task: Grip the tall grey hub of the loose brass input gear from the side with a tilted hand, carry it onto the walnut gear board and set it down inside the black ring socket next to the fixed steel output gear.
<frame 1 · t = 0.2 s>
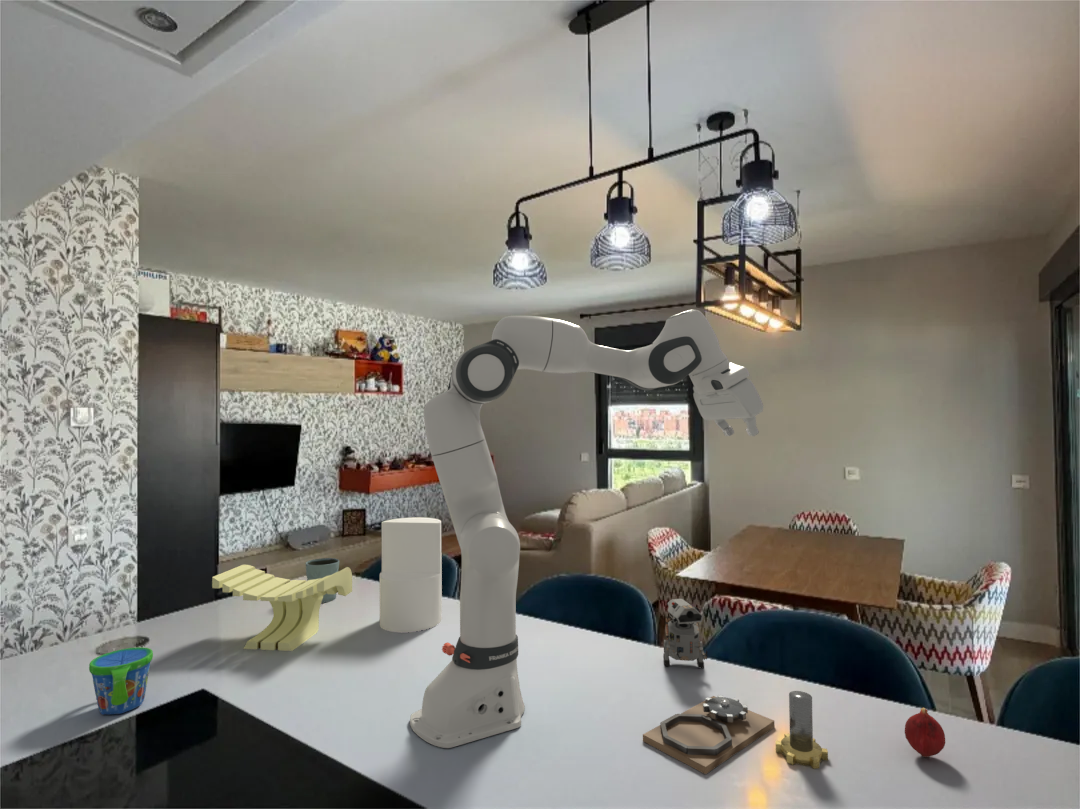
hand: (741, 434, 130), 54 cm above the counter, tool tilted 25°, fingers open, 8 cm apart
cylinder: (411, 622, 169), on the counter
snack cup: (121, 708, 120), on the counter
onion: (925, 758, 100), on the counter
slatted curved stool: (285, 638, 157), on the counter
input gear: (801, 754, 101), on the counter
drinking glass: (322, 599, 191), on the counter
output gear: (725, 724, 111), resting on gear board
gear board: (710, 734, 108), on the counter
figurine: (684, 669, 136), on the counter
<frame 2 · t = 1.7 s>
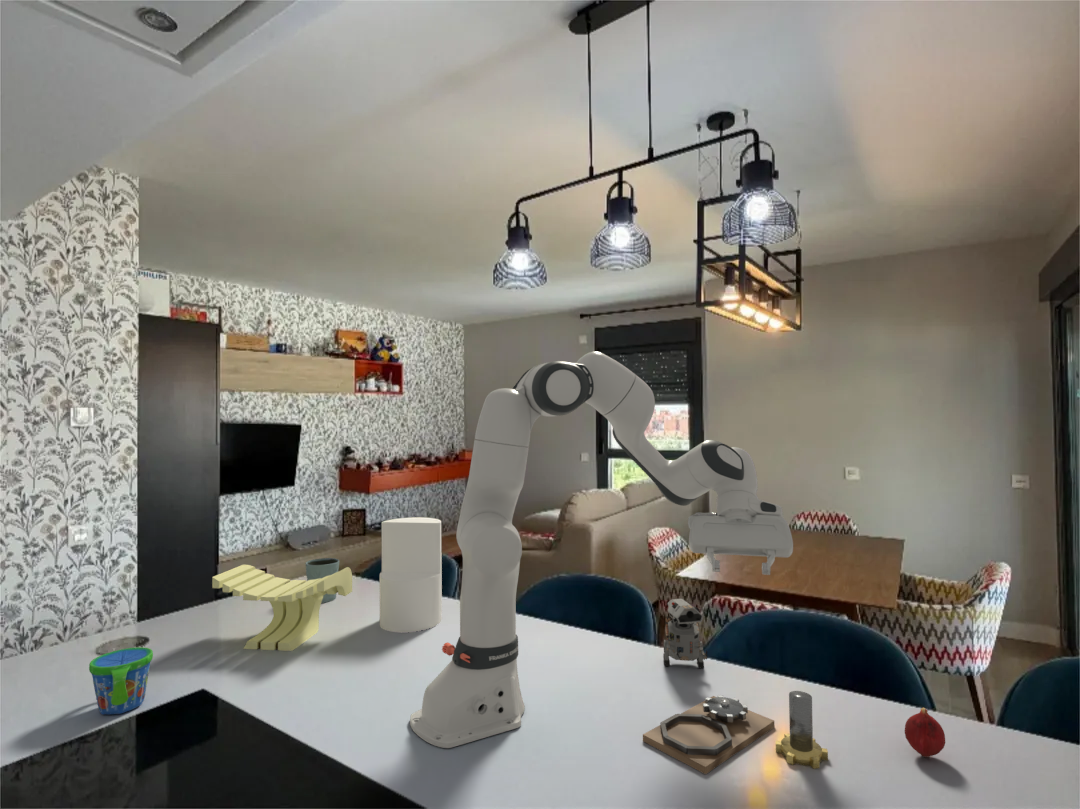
hand: (741, 571, 118), 27 cm above the counter, tool tilted 45°, fingers open, 8 cm apart
nothing on the counter moved.
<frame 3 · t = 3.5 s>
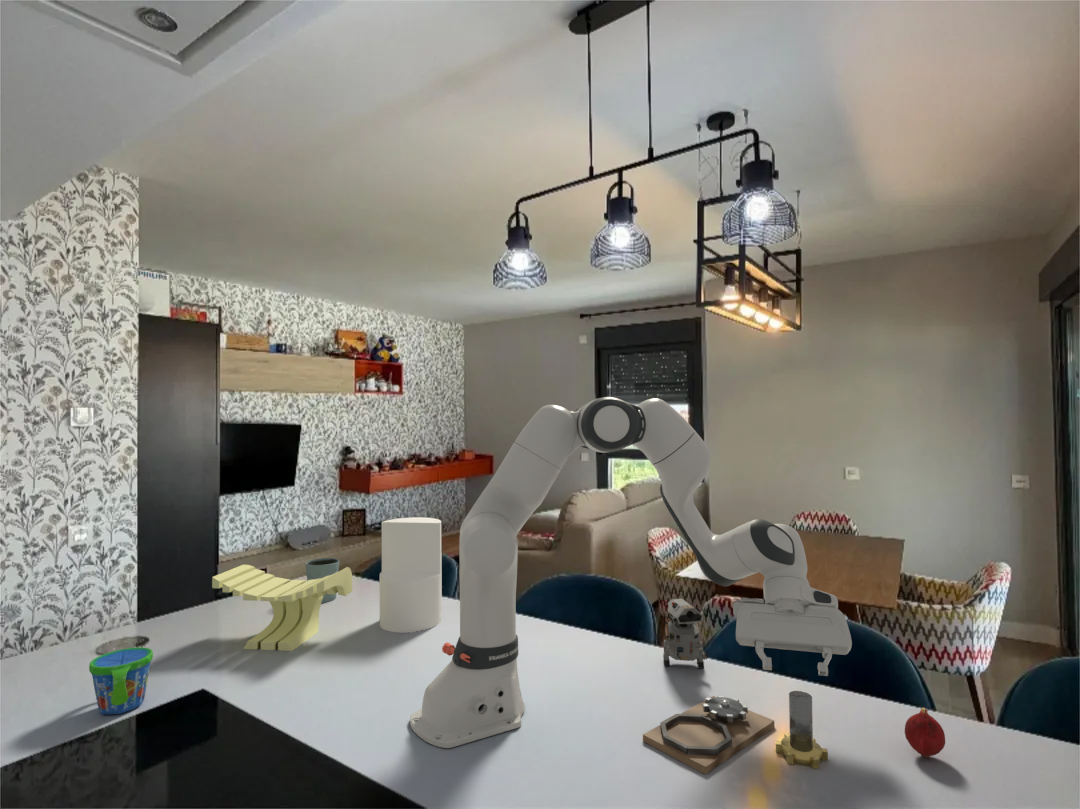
hand: (795, 671, 108), 11 cm above the counter, tool tilted 45°, fingers open, 8 cm apart
nothing on the counter moved.
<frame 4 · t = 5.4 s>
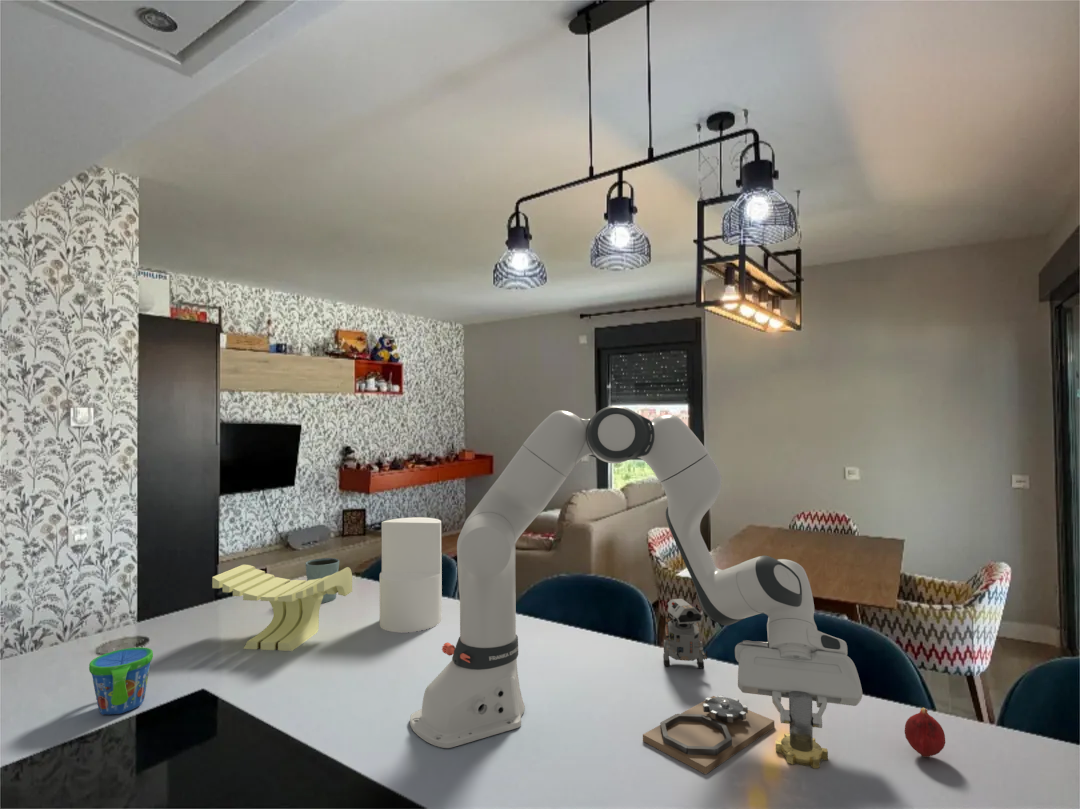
hand: (801, 724, 101), 5 cm above the counter, tool tilted 45°, fingers closed on input gear, 4 cm apart
input gear: (801, 754, 101), on the counter, touching gripper
everything else where it was.
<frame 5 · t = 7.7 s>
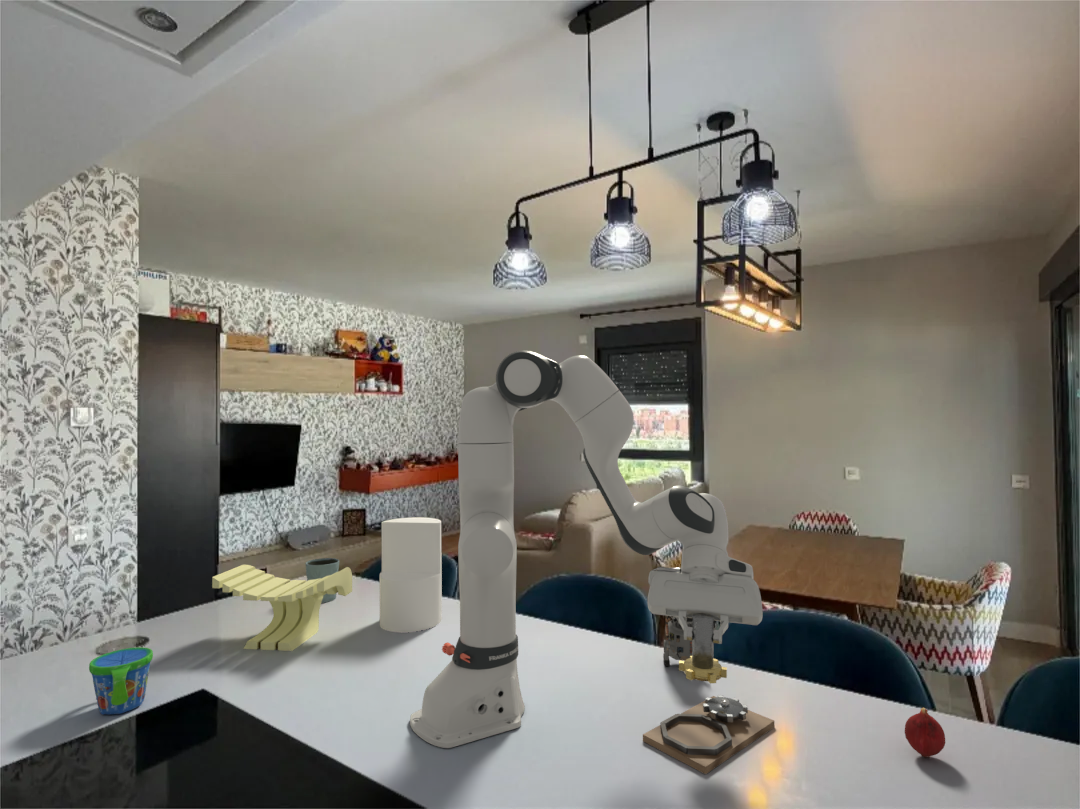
hand: (702, 640, 104), 18 cm above the counter, tool tilted 45°, fingers closed on input gear, 4 cm apart
input gear: (702, 673, 105), point 12 cm above the counter, touching gripper
everything else where it was.
when the fingers open (7 cm above the counter, at t = 10.5 s): input gear stays where it is, resting on gear board.
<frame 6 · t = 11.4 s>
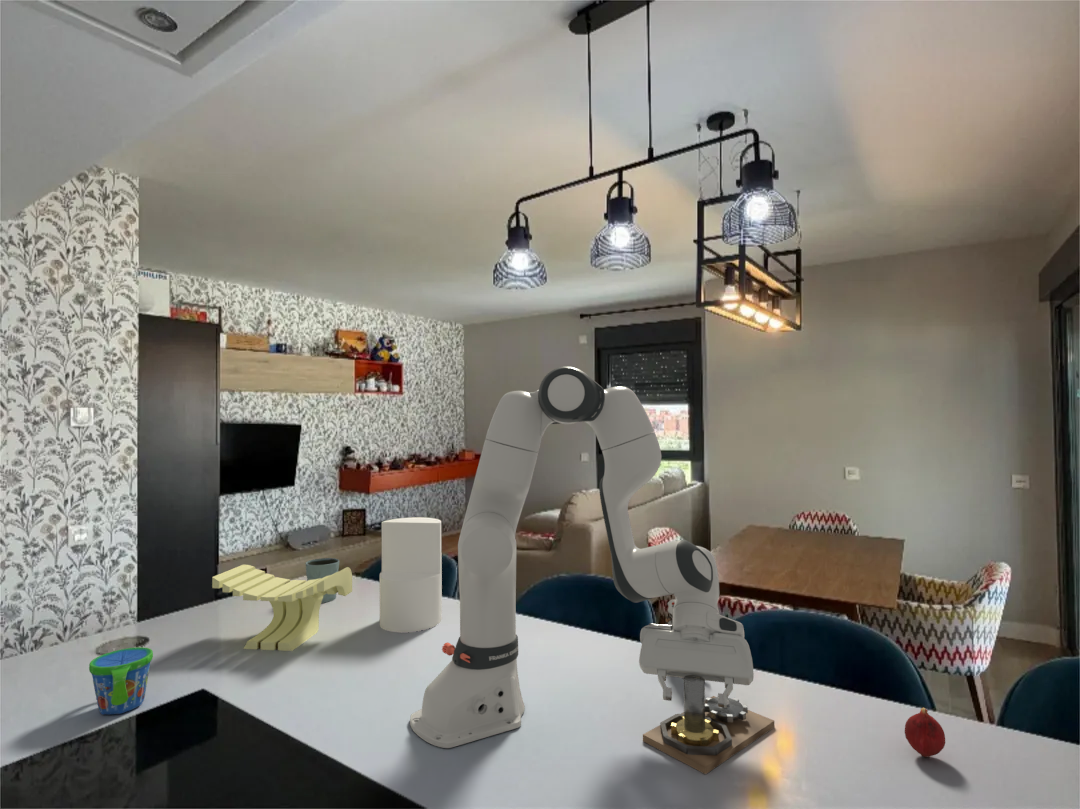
hand: (694, 702, 105), 7 cm above the counter, tool tilted 45°, fingers open, 8 cm apart
input gear: (694, 736, 105), point 1 cm above the counter, touching gear board
everything else where it was.
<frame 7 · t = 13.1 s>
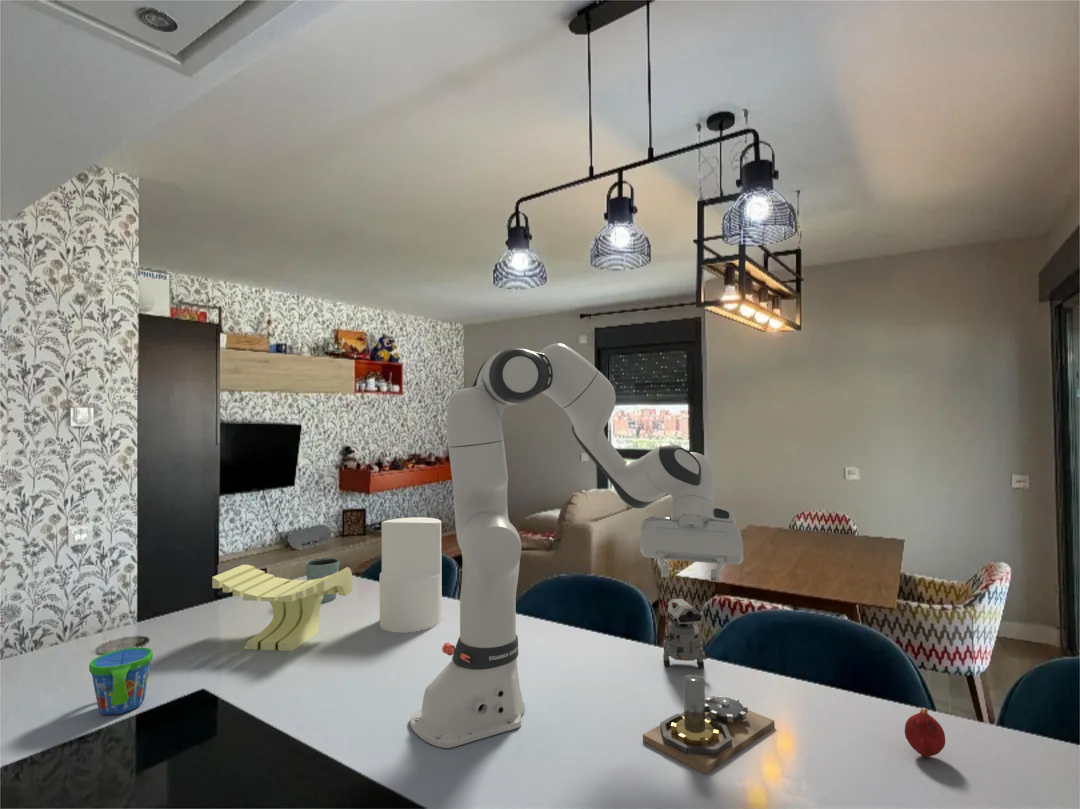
hand: (689, 577, 116), 26 cm above the counter, tool tilted 45°, fingers open, 8 cm apart
nothing on the counter moved.
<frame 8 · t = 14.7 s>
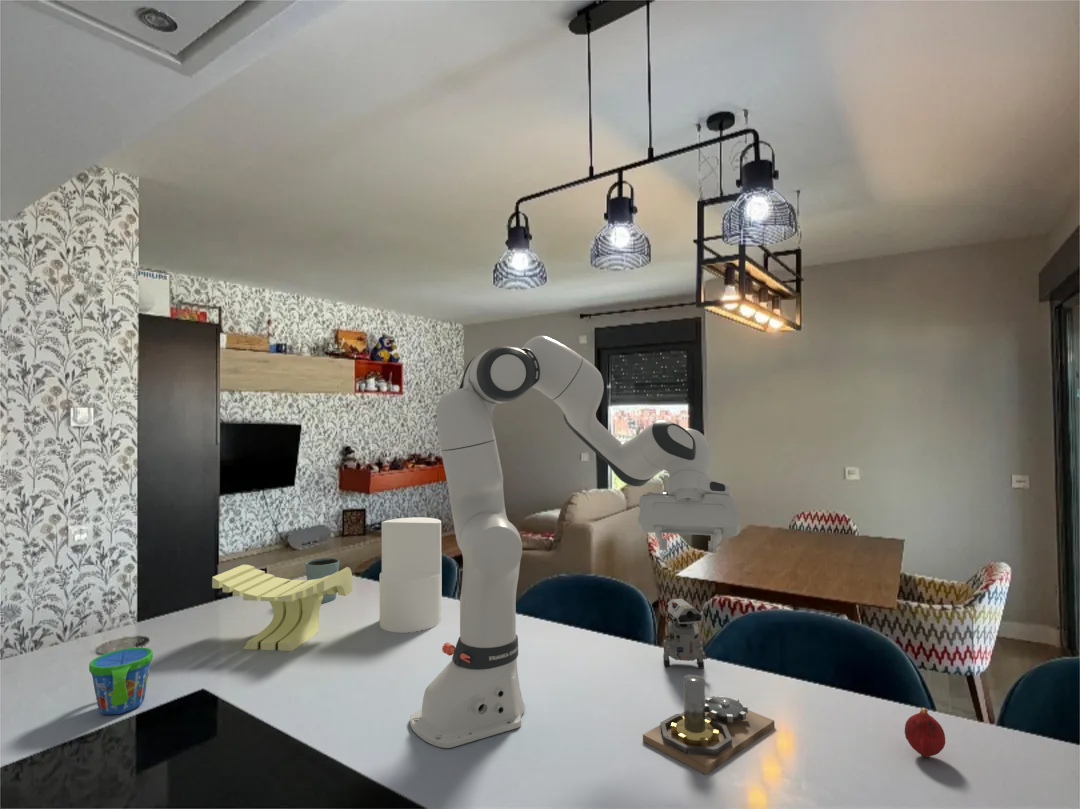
hand: (687, 550, 117), 31 cm above the counter, tool tilted 45°, fingers open, 8 cm apart
nothing on the counter moved.
at the end: input gear 0.1 cm from the target spot on the gear board, point 1.2 cm above the gear board's base; input gear tilted 0°; the gripper is holding nothing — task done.
